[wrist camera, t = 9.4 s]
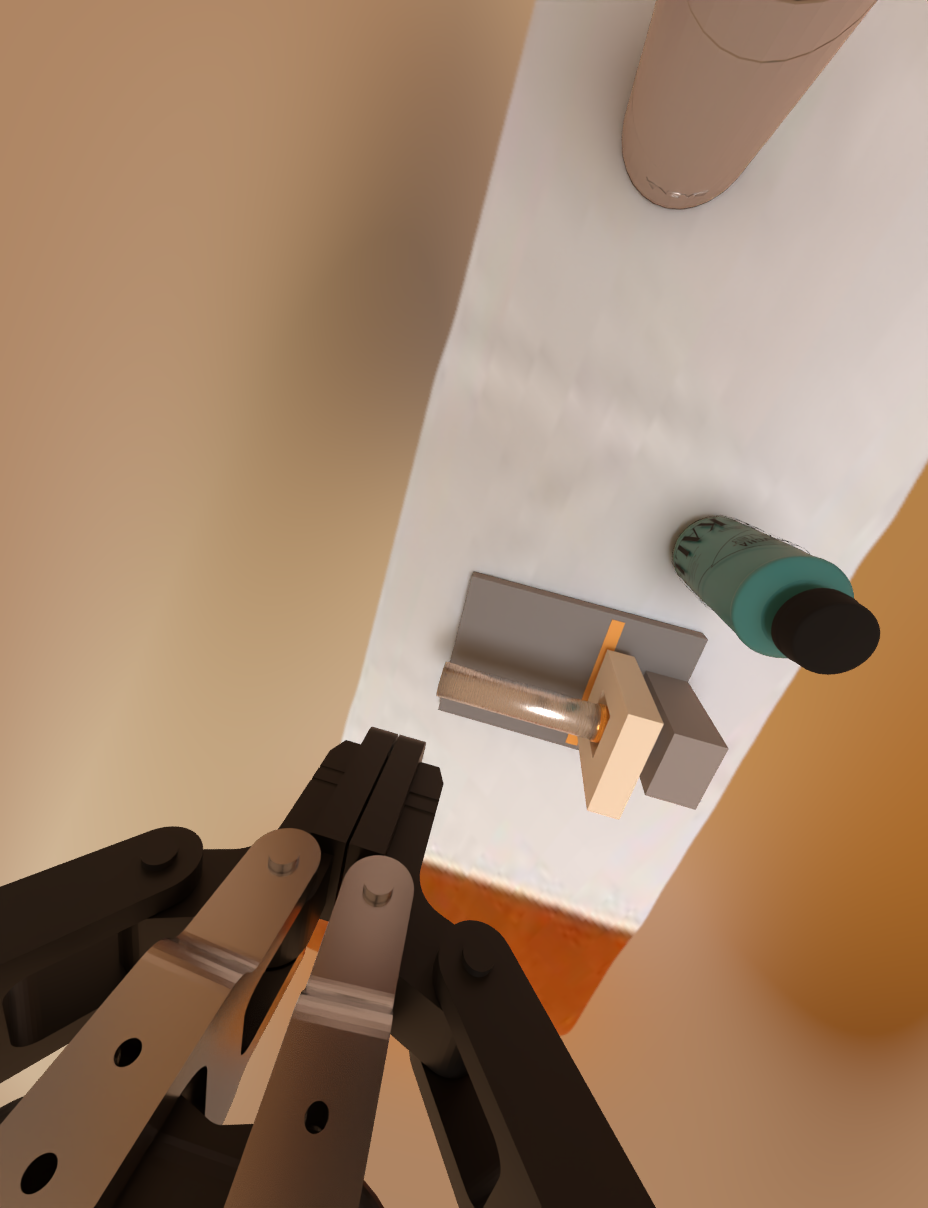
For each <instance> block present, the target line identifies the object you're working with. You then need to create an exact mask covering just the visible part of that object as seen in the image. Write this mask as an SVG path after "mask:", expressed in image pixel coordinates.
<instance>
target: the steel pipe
mask: <svg viewBox="0 0 928 1208" xmlns="http://www.w3.org/2000/svg"><path fill="white" fill-rule="evenodd" d="M436 696H439V697H442V698H446V699H449V700H453V701H456V702H460V703H463V704H467V705H470V706H474V707H477V708H481V709H484V710H488V711H491V712H494V713H498V714H501V715H505V716H508V717H512V718H515V719H519V720H522V721H526V722H529V723H533V724H536V725H540V726H543V727H547V728H550V729H554V730H557V731H561V732H564V733H568V734H571V735H575V736H578V737H582V738H585V739H589V740H590V741H591V742H595V743H598V744H599V742H600V740H601V738H602V735H603V733H604V730H605V728H606V726H607V723H608V721H609V718H610V714H609V710H608V706H607V705H603V704H595V703H592V702H588V701H584V700H581V699H577V698H574V697H570V696H567V695H563V694H560V693H556V692H552V691H549V690H545V689H542V688H538V687H535V686H531V685H528V684H524V683H520V682H517V681H513V680H510V679H506V678H503V677H499V676H496V675H492V674H488V673H485V672H481V671H478V670H474V669H471V668H467V667H464V666H460V665H456V664H453V663H449V662H446V663H445V665H444V668H443V671H442V675H441V678H440V682H439V685H438V689H437V694H436ZM655 743H656V742H655ZM654 746H655V744H654ZM654 746H653V748H652V750H651V752H652V751H653V749H654ZM650 754H651V753H650Z"/></svg>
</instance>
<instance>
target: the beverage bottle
mask: <svg viewBox="0 0 928 1208" xmlns="http://www.w3.org/2000/svg"><path fill="white" fill-rule="evenodd" d="M717 516H718V517H717ZM719 516H720V517H719ZM721 516H723V515H716V517H710V516H709V517H710V518H706V517H705V518H706V519H703V520H701V519H700V521H699V520H698V522H697V521H696V523H695V522H694V524H691V525H690V526H689V527H687V528H686V529H685V530H684V531H683V532H682V534H681V535H680V536H679V538H678V539H677V541H676V543H675V544H676V545H675V548H673V550H674V552H673V553H672V555H673V563H672V564H674V567H675V570H676V572H677V575H678V576H679V577H681V578H682V579H683V581H684V582H685V583H686V584H687V585H688V587H690V588H691V589H692V590H693V591H694V592H695V593H696V594H695V595H698V596H699V597H700V599H699V600H702V601H703V604H704V603H706V604H707V605H708V606H709V607H710V608H711V610H713V611H714V612H715V613H716V614H717V615H718V616H719V617H720V618H721V619H722V620H723V621H724V622H725V623H726V624H727V625H728V626H729V627H730V628H731V629H732V630H733V631H734V632H735V633H736V635H737V636H738V637H739V639H740V640H741V641H742V642H743V643H744V644H745V645H746V646H748V647H749V648H750V649H752V650H753V651H755V652H757V653H760V654H762V655H766V656H769V657H775V658H789V659H790V660H792V661H794V662H796V663H797V664H799V665H800V666H801V667H803V668H805V669H806V670H809V671H811V672H815V673H818V674H827V675H828V674H838V673H843V672H846V671H849V670H851V669H854V668H856V667H857V666H859V665H860V664H862V663H863V662H865V661H866V660H867V659H868V658H869V657H870V656H871V655H872V653H873V652H874V651H875V649H876V647H877V645H878V642H879V639H880V628H879V624H878V622H877V619H876V618H875V616H874V615H873V614H872V613H871V612H870V611H869V610H868V609H867V608H865V607H864V606H862V605H861V604H859V603H858V602H857V601H856V600H855V599H854V593H853V589H852V586H851V583H850V581H849V580H848V578H847V577H846V575H845V574H844V573H843V572H842V571H841V570H840V569H839V568H838V567H837V566H835V565H834V564H832V563H830V562H828V561H826V560H824V559H821V558H818V557H815V556H812V555H810V554H808V553H809V552H808V551H807V550H806V549H805V550H806V551H807V552H808V553H806V552H804V551H802V550H800V549H798V548H796V547H793V546H791V545H789V544H787V543H784V542H782V541H785V540H783V539H782V540H781V541H780V539H779V540H778V538H777V539H776V538H773V537H771V535H770V536H769V535H767V534H764V533H762V531H761V532H760V531H757V530H755V529H756V528H757V527H756V528H753V527H751V526H746V524H747V523H745V522H744V523H745V525H744V524H742V523H740V522H737V521H736V520H738V519H736V520H733V519H734V518H733V519H729V518H725V517H726V516H725V517H724V516H723V517H721ZM731 518H732V517H731ZM739 521H740V520H739ZM741 522H742V521H741ZM747 525H750V524H747ZM758 529H759V528H758ZM763 532H764V531H763ZM779 538H780V537H779ZM787 542H788V543H789V541H787ZM790 543H791V542H790ZM797 546H798V545H797ZM799 547H800V546H799ZM801 548H802V547H801ZM678 576H677V577H678ZM686 587H687V586H686ZM688 587H687V588H688ZM688 589H689V588H688ZM690 591H691V590H690ZM697 598H698V597H697ZM700 602H701V601H700ZM701 603H702V602H701ZM704 605H705V604H704ZM705 607H706V606H705Z"/></svg>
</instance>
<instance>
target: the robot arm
mask: <svg viewBox="0 0 928 1208" xmlns="http://www.w3.org/2000/svg"><path fill="white" fill-rule="evenodd" d="M876 1H877V0H656V4H655V8H654V11H653V15H652V19H651V22H650V26H649V30H648V33H647V37H646V41H645V44H644V48H643V51H642V55H641V59H640V62H639V66H638V69H637V72H636V76H635V80H634V84H633V87H632V91H631V95H630V99H629V102H628V106H627V110H626V114H625V117H624V123H623V132H622V149H623V158H624V161H625V165H626V169H627V172H628V174H629V176H630V178H631V180H632V182H633V184H634V185H635V186H636V188H637V189H638V190H639V191H640V192H641V194H642V195H643V196H645V197H646V198H648V199H649V200H650V201H652V202H653V203H655V204H658V205H661V206H664V207H666V208H677V209H682V208H689V207H695V206H698V205H700V204H703V203H705V202H708V201H710V200H711V199H713V198H715V197H716V196H718V195H719V194H721V193H722V192H724V191H725V190H726V189H727V188H728V187H729V186H730V185H731V184H732V183H733V182H734V181H736V180H737V178H738V177H739V176H740V175H741V173H742V172H743V171H744V170H745V168H746V167H747V166H748V164H749V163H750V162H751V161H752V159H753V158H754V157H755V156H756V154H757V153H758V152H759V151H760V149H761V148H762V147H763V146H764V144H765V143H766V142H767V141H768V140H769V138H770V137H771V136H772V134H773V133H774V132H775V131H776V129H777V128H778V127H779V126H780V124H781V123H782V122H783V120H784V119H785V118H786V117H787V115H788V114H789V113H790V111H791V110H792V109H793V108H794V106H795V105H796V104H797V103H798V101H799V100H800V99H801V97H802V96H803V95H804V94H805V92H806V91H807V90H808V88H809V87H810V86H811V85H812V83H813V82H814V81H815V79H816V78H817V77H818V76H819V74H820V73H821V72H822V71H823V69H824V68H825V67H826V65H827V64H828V63H829V62H830V60H831V59H832V58H833V56H834V55H835V54H836V53H837V51H838V50H839V49H840V48H841V46H842V45H843V44H844V42H845V41H846V40H847V39H848V37H849V36H850V35H851V33H852V32H853V31H854V30H855V28H856V27H857V26H858V24H859V23H860V22H861V21H862V19H863V18H864V17H865V16H866V14H867V13H868V12H869V10H870V9H871V8H872V7H873V5H874V4H875V3H876ZM425 746H426V742H423V741H420V740H417V739H413V738H410V737H406V736H403V735H399V737H398V734H396V733H392V732H389V731H385V730H382V729H378V728H375V727H371V728H370V729H369V731H368V733H367V735H366V736H365V738H364V740H363V742H362V743H361V744H357V743H354V742H351V741H347V740H345V741H344V742H342V743H341V744H339V745H338V746H336V747H335V748H333V749H332V750H330V751H329V753H328V755H327V756H326V758H325V759H324V761H323V762H322V764H321V765H320V768H318V770H317V771H316V773H315V774H314V776H313V778H312V780H311V781H310V782H309V783H308V785H307V787H306V788H305V790H304V791H303V793H302V794H301V796H300V797H299V799H298V800H297V802H296V803H295V805H294V806H293V808H292V809H291V811H290V812H289V814H288V815H287V817H286V818H285V820H284V821H283V823H282V824H281V826H280V827H279V828H278V830H274V831H271V832H269V833H267V834H265V835H263V836H262V837H261V838H259V839H258V840H257V841H256V842H255V843H254V844H253V845H252V846H250V847H246V848H241V849H204V850H203V844H202V841H201V839H200V838H199V836H198V835H196V833H195V832H193V831H191V830H189V829H187V828H183V827H163V828H158V829H155V830H151V831H149V832H146V833H143V834H141V835H138V836H135V837H132V838H130V839H127V840H124V841H122V842H119V843H116V844H114V845H111V846H108V847H106V848H103V849H100V850H98V851H95V852H92V853H90V854H87V855H84V856H82V857H79V858H77V859H74V860H71V861H68V862H66V863H63V864H60V865H57V866H55V867H52V868H49V869H47V870H44V871H42V872H39V873H36V874H34V875H31V876H28V877H25V878H23V879H20V880H18V881H15V882H12V883H9V884H7V885H4V886H1V887H0V1083H2V1082H3V1081H5V1080H7V1079H9V1078H10V1077H12V1076H14V1075H15V1074H17V1073H19V1072H21V1071H22V1070H24V1069H26V1068H27V1067H29V1066H31V1065H33V1064H34V1063H36V1062H38V1061H40V1060H41V1059H43V1058H45V1057H46V1056H48V1055H50V1054H52V1053H53V1052H55V1051H57V1050H58V1049H60V1048H62V1047H64V1046H65V1045H67V1044H68V1045H67V1046H66V1047H65V1049H64V1050H63V1051H62V1052H61V1053H60V1055H59V1056H58V1057H57V1058H56V1059H55V1060H54V1062H53V1063H52V1064H51V1065H50V1066H49V1068H48V1069H47V1070H46V1071H45V1072H44V1074H43V1075H42V1076H41V1077H40V1078H39V1079H38V1081H37V1082H36V1083H35V1084H34V1085H33V1087H32V1088H31V1089H30V1090H29V1091H28V1092H27V1094H26V1095H25V1096H24V1097H21V1098H19V1099H16V1100H14V1101H12V1102H10V1103H8V1104H6V1105H5V1106H3V1107H1V1108H0V1208H384V1207H383V1205H382V1204H381V1202H380V1200H379V1199H378V1197H377V1196H376V1194H375V1193H374V1192H373V1190H372V1189H371V1188H370V1187H369V1186H368V1184H367V1183H366V1182H365V1181H364V1175H365V1169H366V1164H367V1158H368V1153H369V1147H370V1142H371V1137H372V1131H373V1126H374V1119H375V1115H376V1109H377V1103H378V1098H379V1092H380V1087H381V1081H382V1076H383V1070H384V1065H385V1060H386V1054H387V1048H388V1043H389V1037H390V1034H391V1035H392V1036H393V1037H394V1038H395V1039H397V1040H398V1041H399V1042H400V1043H401V1044H402V1045H403V1046H404V1047H406V1048H407V1049H408V1050H409V1054H410V1061H411V1064H412V1068H413V1071H414V1074H415V1077H416V1080H417V1083H418V1086H419V1088H420V1092H421V1095H422V1098H423V1101H424V1104H425V1107H426V1110H427V1113H428V1116H429V1119H430V1122H431V1125H432V1128H433V1131H434V1134H435V1137H436V1140H437V1143H438V1146H439V1149H440V1152H441V1155H442V1158H443V1161H444V1164H445V1167H446V1170H447V1173H448V1176H449V1179H450V1182H451V1185H452V1188H453V1191H454V1194H455V1197H456V1200H457V1203H458V1206H459V1208H656V1207H655V1205H654V1204H653V1202H652V1200H651V1198H650V1196H649V1195H648V1193H647V1191H646V1189H645V1188H644V1186H643V1184H642V1182H641V1180H640V1179H639V1177H638V1175H637V1173H636V1172H635V1170H634V1168H633V1166H632V1164H631V1163H630V1161H629V1159H628V1157H627V1156H626V1154H625V1152H624V1150H623V1148H622V1147H621V1145H620V1143H619V1141H618V1139H617V1138H616V1136H615V1134H614V1132H613V1130H612V1129H611V1127H610V1125H609V1123H608V1122H607V1120H606V1118H605V1117H604V1115H603V1113H602V1111H601V1109H600V1108H599V1106H598V1104H597V1102H596V1100H595V1098H594V1097H593V1095H592V1093H591V1091H590V1089H589V1088H588V1086H587V1084H586V1083H585V1081H584V1079H583V1077H582V1075H581V1074H580V1072H579V1070H578V1068H577V1066H576V1065H575V1063H574V1061H573V1059H572V1058H571V1056H570V1054H569V1052H568V1051H567V1048H566V1047H565V1045H564V1043H563V1041H562V1040H561V1038H560V1036H559V1034H558V1032H557V1031H556V1029H555V1027H554V1025H553V1024H552V1022H551V1020H550V1018H549V1016H548V1015H547V1013H546V1011H545V1009H544V1007H543V1006H542V1004H541V1002H540V1000H539V999H538V997H537V995H536V993H535V991H534V990H533V988H532V986H531V984H530V983H529V981H528V979H527V977H526V975H525V974H524V972H523V970H522V968H521V966H520V965H519V963H518V961H517V959H516V958H515V956H514V954H513V952H512V950H511V949H510V947H509V945H508V944H507V942H506V940H505V939H504V938H503V937H502V935H501V934H500V933H499V932H498V931H496V930H495V929H494V928H492V927H491V926H489V925H487V924H485V923H483V922H479V921H473V920H468V921H462V922H459V923H457V924H455V925H454V924H453V923H451V922H450V921H449V920H447V919H446V918H445V917H443V916H442V915H440V914H439V913H438V912H437V911H435V910H434V909H433V908H432V906H431V905H430V904H429V903H428V901H427V900H426V898H425V896H424V894H423V892H422V889H421V886H420V869H421V865H422V861H423V858H424V854H425V850H426V847H427V843H428V839H429V836H430V832H431V828H432V824H433V821H434V817H435V813H436V810H437V806H438V802H439V798H440V795H441V791H442V787H443V780H442V776H441V772H440V768H439V767H436V766H433V765H429V764H426V763H422V758H423V754H424V750H425ZM319 919H322V920H326V921H329V923H328V926H327V929H326V931H325V934H324V937H323V940H322V943H321V946H320V949H319V952H318V955H317V958H316V960H315V963H314V966H313V969H312V972H311V975H310V978H309V980H308V983H307V986H306V988H305V990H303V991H302V992H301V994H300V996H299V999H298V1001H297V1003H296V1006H295V1009H294V1011H293V1014H292V1017H291V1020H290V1022H289V1025H288V1028H287V1031H286V1034H285V1036H284V1039H283V1042H282V1045H281V1048H280V1051H279V1053H278V1056H277V1059H276V1062H275V1065H274V1068H273V1070H272V1073H271V1076H270V1079H269V1082H268V1084H267V1088H266V1090H265V1093H264V1096H263V1099H262V1101H261V1104H260V1107H259V1110H258V1113H257V1116H256V1118H255V1121H254V1124H243V1125H242V1124H241V1125H222V1124H223V1122H224V1120H225V1118H226V1116H227V1113H228V1111H229V1109H230V1107H231V1104H232V1102H233V1099H234V1097H235V1094H236V1091H237V1088H238V1085H239V1082H240V1080H241V1077H242V1075H243V1072H244V1070H245V1068H246V1065H247V1063H248V1061H249V1059H250V1057H251V1055H252V1053H253V1051H254V1049H255V1048H256V1046H257V1044H258V1042H259V1040H260V1038H261V1036H262V1034H263V1033H264V1031H265V1029H266V1027H267V1025H268V1023H269V1021H270V1019H271V1017H272V1015H273V1014H274V1012H275V1010H276V1008H277V1006H278V1004H279V1002H280V1000H281V999H282V997H283V994H284V993H285V991H286V989H287V987H288V985H289V983H290V982H291V980H292V978H293V976H294V974H295V972H296V970H297V968H298V966H299V964H300V962H301V961H302V959H303V956H304V954H305V950H306V946H307V944H308V942H309V940H310V938H311V936H312V933H313V931H314V929H315V927H316V925H317V922H318V920H319Z"/></svg>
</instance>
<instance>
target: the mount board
mask: <svg viewBox="0 0 928 1208" xmlns="http://www.w3.org/2000/svg"><path fill="white" fill-rule="evenodd" d="M707 641H708V639H707V638H706V637H705V636H704V634H703V633H700V632H696V631H693V630H689V629H685V628H681V627H678V626H674V625H670V624H667V623H663V622H659V621H655V620H652V619H648V618H644V617H641V616H637V615H633V614H629V613H626V612H622V611H618V610H615V609H611V608H607V607H603V606H600V605H596V604H592V603H589V602H585V601H581V600H577V599H574V598H570V597H566V596H563V595H559V594H555V593H551V592H548V591H544V590H540V589H537V588H533V587H529V586H526V585H522V584H518V583H514V582H511V581H507V580H503V579H500V578H496V577H492V576H488V575H485V574H481V573H477V572H473V574H472V577H471V581H470V585H469V589H468V593H467V597H466V601H465V605H464V609H463V613H462V617H461V621H460V625H459V629H458V633H457V637H456V641H455V645H454V649H453V653H452V657H451V661H450V663H453V664H456V665H460V666H464V667H467V668H471V669H474V670H478V671H481V672H485V673H488V674H492V675H496V676H499V677H503V678H506V679H510V680H513V681H517V682H520V683H524V684H528V685H531V686H535V687H538V688H542V689H545V690H549V691H552V692H556V693H560V694H563V695H567V696H570V697H574V698H577V699H581V700H584V701H588V698H589V696H590V693H591V691H592V688H593V685H594V683H595V680H596V678H597V675H598V672H599V670H600V667H601V665H602V662H603V660H604V657H605V654H606V652H607V649H608V650H611V651H615V652H619V653H622V654H626V655H629V656H633V657H635V659H636V661H637V664H638V666H639V668H640V671H641V673H642V675H643V677H644V680H645V682H646V684H647V687H648V689H649V691H650V693H651V696H652V698H653V700H654V703H655V705H656V707H657V709H658V712H659V714H660V716H661V719H662V721H663V723H664V725H663V727H662V729H661V731H660V733H659V735H658V738H657V740H656V743H655V746H654V749H653V751H652V752H651V754H650V755H649V757H648V759H647V761H646V763H645V765H644V768H643V770H642V772H641V774H640V780H641V783H642V786H643V790H644V793H645V795H647V796H650V797H654V798H657V799H661V800H664V801H667V802H671V803H674V804H678V805H681V806H685V807H688V808H692V809H695V810H696V808H697V806H698V804H699V802H700V800H701V799H702V797H703V795H704V793H705V791H706V789H707V788H708V786H709V784H710V782H711V780H712V778H713V776H714V775H715V773H716V771H717V769H718V767H719V765H720V763H721V762H722V760H723V758H724V756H725V754H726V752H727V751H728V747H727V745H726V744H725V742H724V740H723V739H722V737H721V735H720V734H719V732H718V731H717V729H716V727H715V726H714V724H713V722H712V721H711V719H710V717H709V716H708V714H707V712H706V711H705V709H704V708H703V706H702V704H701V703H700V701H699V699H698V698H697V696H696V694H695V693H694V691H693V690H692V688H691V686H690V685H689V683H688V681H689V679H690V677H691V674H692V672H693V670H694V668H695V666H696V664H697V662H698V660H699V658H700V655H701V653H702V651H703V649H704V647H705V645H706V643H707ZM438 710H441V711H445V712H448V713H452V714H455V715H459V716H462V717H466V718H469V719H472V720H476V721H479V722H483V723H486V724H490V725H493V726H497V727H500V728H504V729H507V730H511V731H514V732H518V733H521V734H525V735H528V736H532V737H535V738H539V739H542V740H546V741H549V742H552V743H556V744H559V745H563V746H566V747H570V748H573V749H577V750H579V746H578V738H577V736H575V735H571V734H568V733H564V732H561V731H557V730H554V729H550V728H547V727H543V726H540V725H536V724H533V723H529V722H526V721H522V720H519V719H515V718H512V717H508V716H505V715H501V714H498V713H494V712H491V711H488V710H484V709H481V708H477V707H474V706H470V705H467V704H463V703H460V702H456V701H453V700H449V699H446V698H442V697H441V701H440V705H439V709H438Z"/></svg>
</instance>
